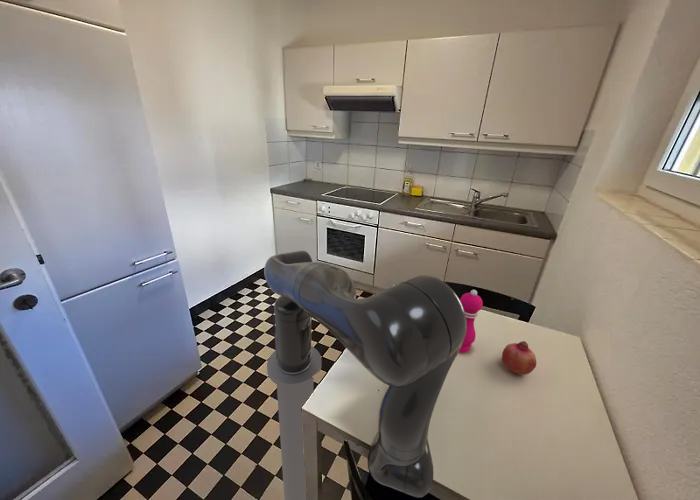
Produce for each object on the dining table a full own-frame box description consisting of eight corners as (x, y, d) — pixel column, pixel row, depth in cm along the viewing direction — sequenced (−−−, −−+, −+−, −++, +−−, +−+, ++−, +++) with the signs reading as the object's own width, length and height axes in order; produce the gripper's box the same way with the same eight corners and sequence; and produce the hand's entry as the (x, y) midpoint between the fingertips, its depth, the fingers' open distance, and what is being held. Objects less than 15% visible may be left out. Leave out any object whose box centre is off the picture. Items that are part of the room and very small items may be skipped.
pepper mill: (454, 355, 82) (469, 297, 74) (443, 338, 89) (456, 283, 81) (476, 353, 83) (494, 296, 75) (463, 336, 90) (478, 283, 82)
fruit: (492, 359, 81) (501, 332, 77) (517, 358, 82) (528, 331, 78) (509, 382, 74) (520, 353, 70) (537, 381, 75) (549, 352, 71)
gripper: (449, 381, 57) (449, 332, 71) (381, 362, 61) (394, 319, 75) (442, 407, 60) (444, 355, 74) (378, 386, 64) (391, 341, 78)
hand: (419, 337), depth 74 cm, fingers open, 8 cm apart
